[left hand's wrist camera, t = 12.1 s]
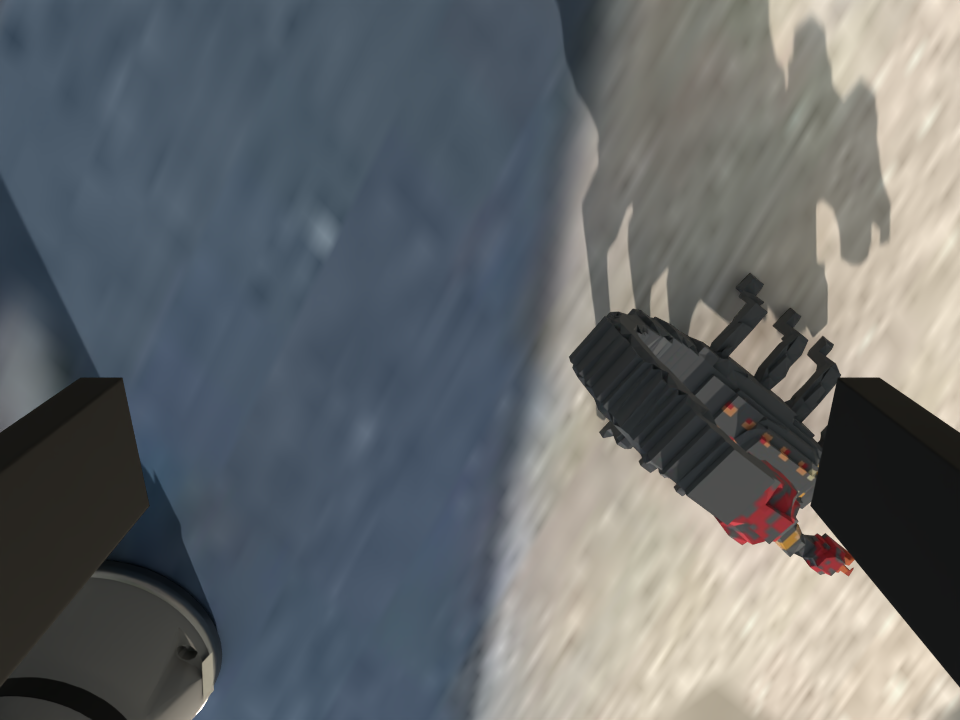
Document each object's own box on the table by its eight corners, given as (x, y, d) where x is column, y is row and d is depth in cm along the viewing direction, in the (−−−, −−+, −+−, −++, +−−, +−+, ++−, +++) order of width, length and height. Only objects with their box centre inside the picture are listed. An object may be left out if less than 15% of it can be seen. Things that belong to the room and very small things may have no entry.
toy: (637, 175, 37) (772, 237, 20) (939, 436, 43) (1242, 656, 26) (490, 352, 41) (497, 529, 24) (786, 569, 47) (961, 836, 30)
